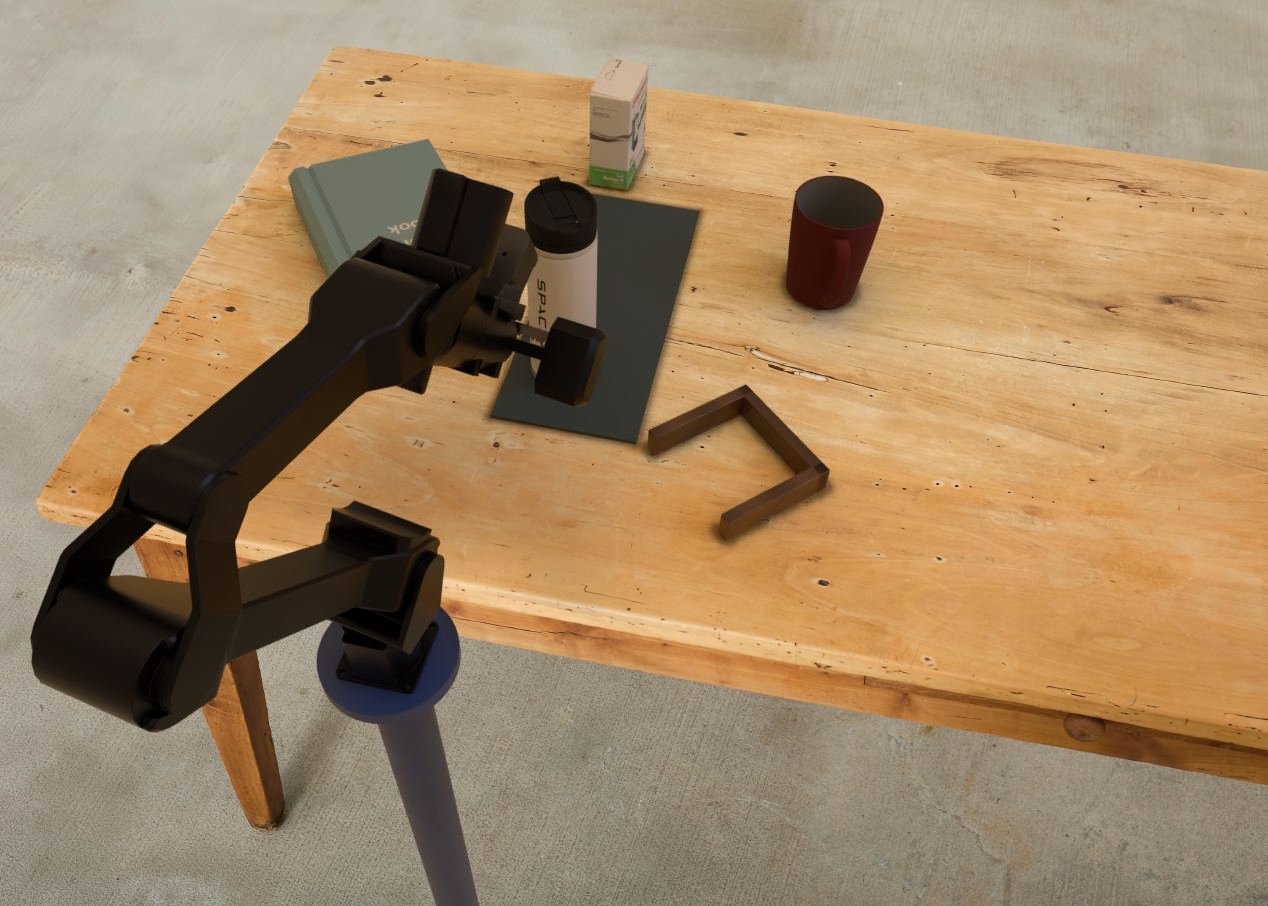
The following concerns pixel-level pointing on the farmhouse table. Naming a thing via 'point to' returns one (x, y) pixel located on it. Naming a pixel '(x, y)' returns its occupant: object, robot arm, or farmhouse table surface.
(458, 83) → the farmhouse table surface
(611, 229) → the desk mat
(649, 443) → the u-shaped bracket
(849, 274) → the mug
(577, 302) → the travel mug
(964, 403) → the farmhouse table surface
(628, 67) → the ink box
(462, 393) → the farmhouse table surface
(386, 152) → the book
